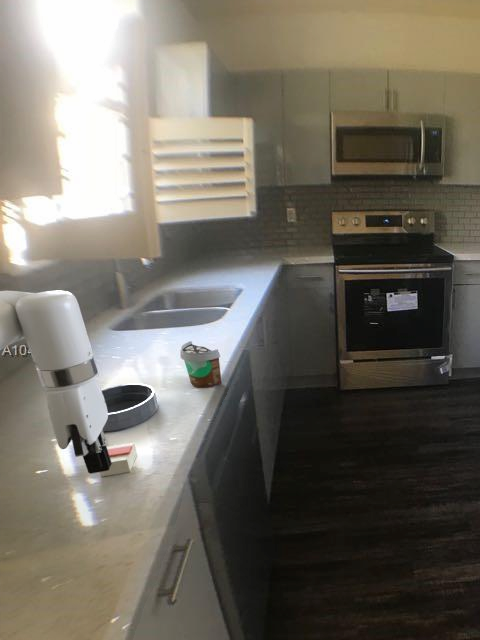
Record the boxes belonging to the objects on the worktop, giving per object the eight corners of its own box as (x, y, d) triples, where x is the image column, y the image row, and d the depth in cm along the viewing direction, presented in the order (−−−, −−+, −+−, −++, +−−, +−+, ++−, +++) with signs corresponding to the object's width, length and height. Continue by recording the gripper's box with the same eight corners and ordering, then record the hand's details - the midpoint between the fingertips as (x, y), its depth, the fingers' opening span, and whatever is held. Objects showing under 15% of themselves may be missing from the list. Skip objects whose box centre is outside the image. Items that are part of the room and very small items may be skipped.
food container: (176, 382, 121) (168, 347, 117) (196, 374, 126) (190, 340, 122) (204, 394, 115) (197, 357, 111) (225, 385, 119) (219, 349, 115)
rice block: (100, 477, 85) (96, 462, 83) (109, 458, 90) (105, 444, 89) (130, 471, 86) (126, 457, 85) (137, 454, 91) (133, 440, 90)
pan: (75, 438, 97) (69, 419, 95) (96, 405, 110) (91, 388, 109) (152, 426, 101) (147, 408, 99) (163, 396, 114) (159, 380, 112)
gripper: (59, 357, 77) (89, 449, 84) (19, 396, 63) (59, 502, 70) (108, 351, 78) (134, 442, 85) (80, 388, 65) (113, 492, 72)
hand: (100, 469), depth 78 cm, fingers closed
